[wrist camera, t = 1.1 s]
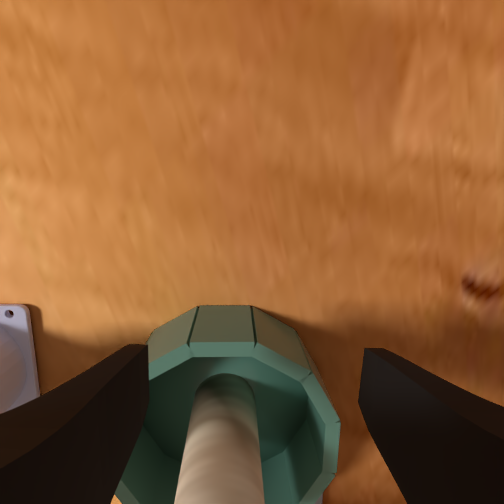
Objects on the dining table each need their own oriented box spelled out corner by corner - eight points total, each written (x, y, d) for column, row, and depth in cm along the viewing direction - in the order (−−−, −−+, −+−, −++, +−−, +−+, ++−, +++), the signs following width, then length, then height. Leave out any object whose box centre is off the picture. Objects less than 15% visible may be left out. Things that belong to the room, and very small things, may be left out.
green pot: (135, 473, 24) (109, 549, 19) (124, 305, 21) (91, 342, 16) (311, 468, 24) (330, 541, 20) (322, 305, 22) (347, 341, 17)
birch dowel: (194, 427, 22) (168, 588, 14) (193, 373, 21) (164, 506, 13) (254, 426, 23) (266, 583, 14) (255, 372, 22) (269, 503, 13)
